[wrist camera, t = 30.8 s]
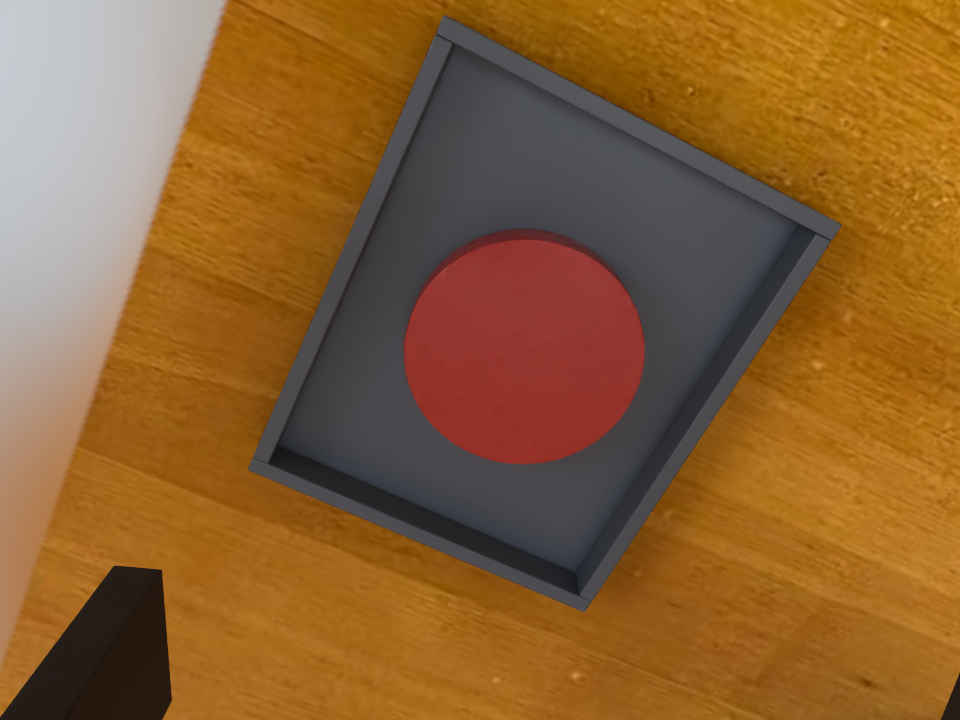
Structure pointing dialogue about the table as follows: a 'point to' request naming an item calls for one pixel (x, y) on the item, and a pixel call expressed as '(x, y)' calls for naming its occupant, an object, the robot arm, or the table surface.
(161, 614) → the robot arm
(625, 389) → the jar lid
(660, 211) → the tray
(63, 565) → the table surface
